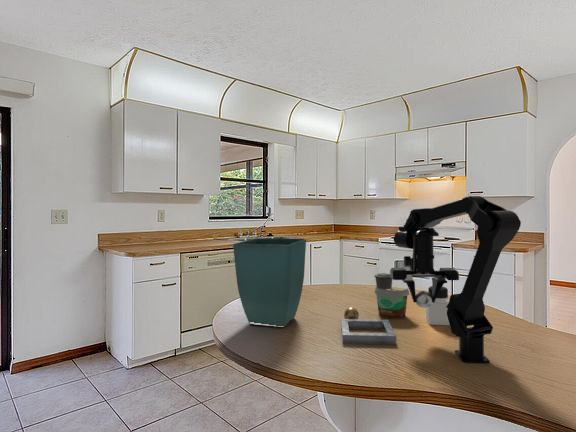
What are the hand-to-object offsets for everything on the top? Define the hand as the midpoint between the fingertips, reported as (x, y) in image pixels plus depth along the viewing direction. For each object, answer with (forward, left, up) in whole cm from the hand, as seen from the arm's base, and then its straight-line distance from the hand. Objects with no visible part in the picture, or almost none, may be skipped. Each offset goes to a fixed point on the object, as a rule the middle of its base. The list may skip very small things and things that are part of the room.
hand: (423, 302), depth 108 cm
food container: (+19, +7, -10) cm, 23 cm away
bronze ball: (+12, +21, -8) cm, 25 cm away
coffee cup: (+48, +5, -10) cm, 49 cm away
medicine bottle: (+14, -8, -10) cm, 19 cm away
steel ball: (0, 0, +1) cm, 1 cm away
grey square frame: (0, +17, -10) cm, 20 cm away
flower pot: (+11, +48, -10) cm, 50 cm away
